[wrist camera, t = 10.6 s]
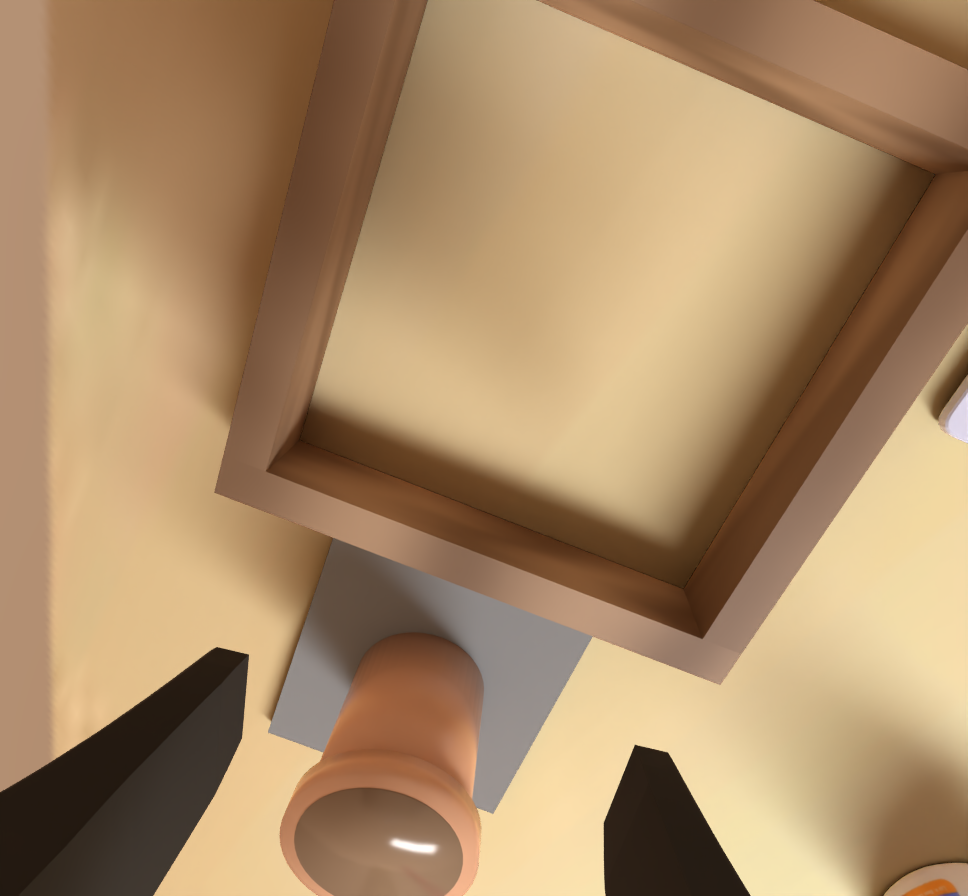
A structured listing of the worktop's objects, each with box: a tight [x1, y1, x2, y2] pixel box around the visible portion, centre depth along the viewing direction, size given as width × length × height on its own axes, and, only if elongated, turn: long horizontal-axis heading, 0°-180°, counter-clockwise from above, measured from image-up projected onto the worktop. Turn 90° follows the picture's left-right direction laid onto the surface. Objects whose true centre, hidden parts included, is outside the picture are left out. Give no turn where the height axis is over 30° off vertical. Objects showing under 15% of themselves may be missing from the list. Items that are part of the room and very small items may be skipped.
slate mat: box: [268, 538, 593, 813], centre depth 22 cm, size 9×9×1 cm
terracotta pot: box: [280, 632, 484, 896], centre depth 19 cm, size 5×5×6 cm
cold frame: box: [214, 0, 968, 685], centre depth 16 cm, size 15×15×2 cm
